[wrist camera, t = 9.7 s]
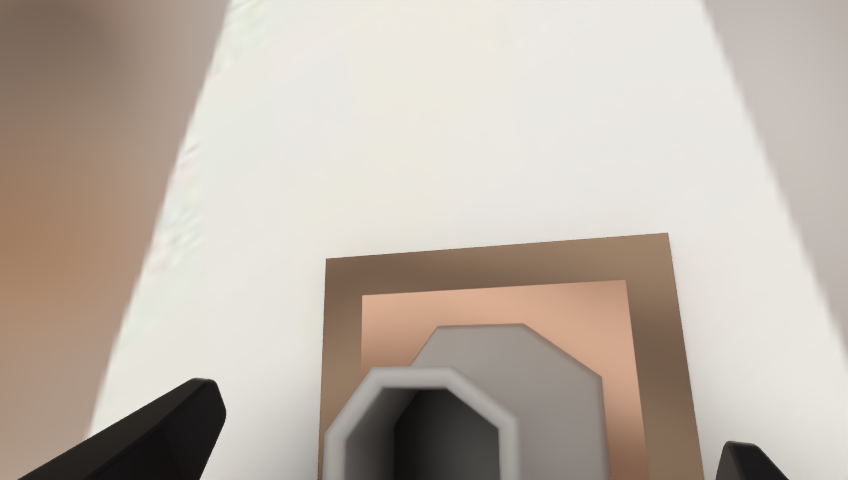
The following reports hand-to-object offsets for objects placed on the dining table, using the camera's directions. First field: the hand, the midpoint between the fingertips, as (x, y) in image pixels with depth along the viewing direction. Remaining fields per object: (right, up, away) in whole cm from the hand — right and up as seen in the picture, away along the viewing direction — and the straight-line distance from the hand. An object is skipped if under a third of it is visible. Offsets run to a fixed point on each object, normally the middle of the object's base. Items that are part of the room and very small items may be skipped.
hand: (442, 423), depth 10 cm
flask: (+2, -3, +8) cm, 9 cm away
